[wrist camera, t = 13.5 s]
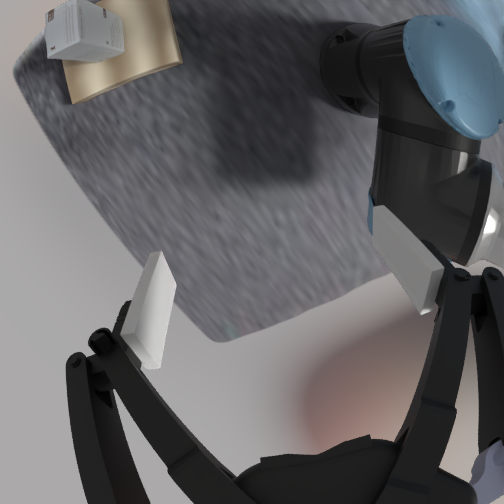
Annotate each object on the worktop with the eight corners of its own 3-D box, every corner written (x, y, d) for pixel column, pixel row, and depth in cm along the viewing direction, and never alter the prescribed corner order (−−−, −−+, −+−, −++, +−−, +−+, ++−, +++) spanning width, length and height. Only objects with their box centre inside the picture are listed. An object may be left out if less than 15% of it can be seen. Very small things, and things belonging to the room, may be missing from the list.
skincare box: (126, 53, 26) (82, 42, 16) (96, 64, 26) (46, 61, 16) (121, 15, 23) (79, -7, 13) (92, 27, 23) (43, 13, 13)
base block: (164, -14, 24) (158, -23, 21) (183, 63, 31) (177, 60, 28) (69, 28, 25) (56, 26, 21) (85, 101, 32) (72, 104, 29)
